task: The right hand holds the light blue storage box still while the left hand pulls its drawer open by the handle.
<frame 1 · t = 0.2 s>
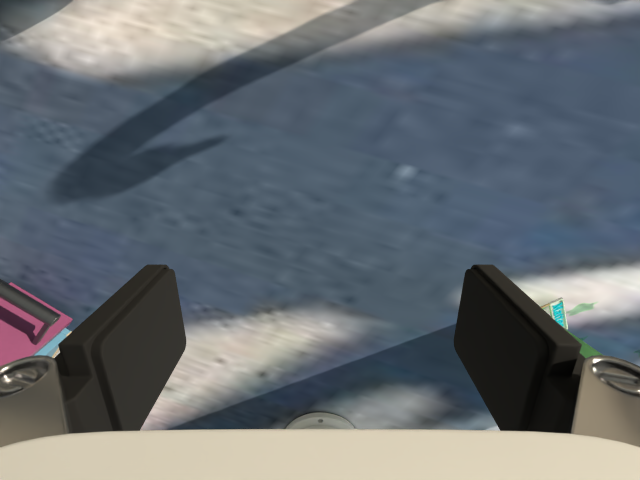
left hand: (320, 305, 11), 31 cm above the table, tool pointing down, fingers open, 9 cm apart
light blue storage box: (11, 353, 50), on the table
toy game set: (621, 333, 49), on the table
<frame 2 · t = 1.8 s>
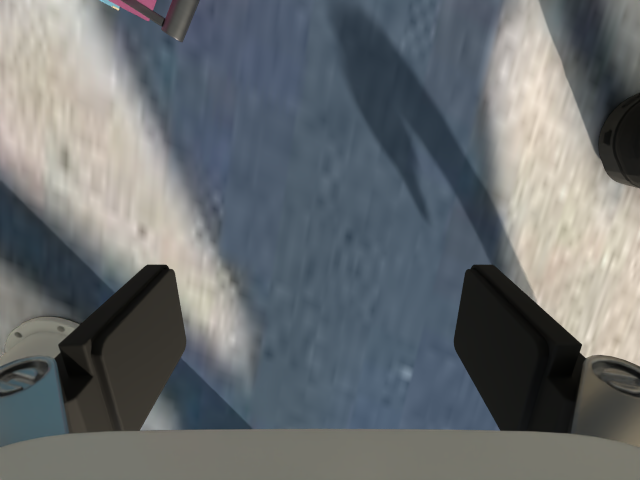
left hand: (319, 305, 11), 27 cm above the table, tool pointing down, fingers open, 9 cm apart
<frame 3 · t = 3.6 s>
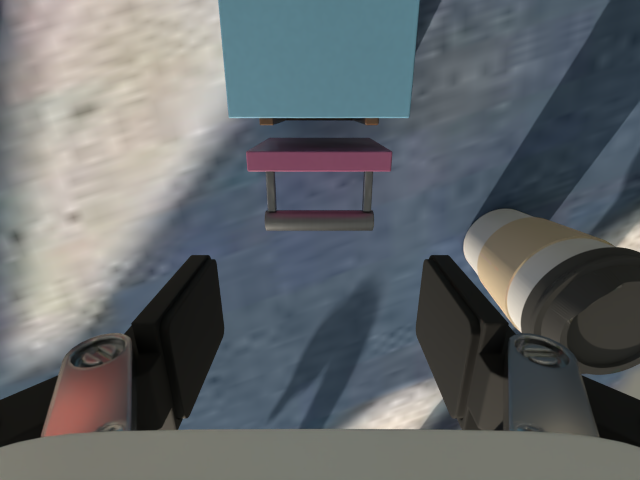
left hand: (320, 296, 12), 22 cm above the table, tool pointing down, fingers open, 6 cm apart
coffee cup: (497, 241, 34), on the table
drawer: (319, 71, 23), point 6 cm above the table, slide at 1.9 cm
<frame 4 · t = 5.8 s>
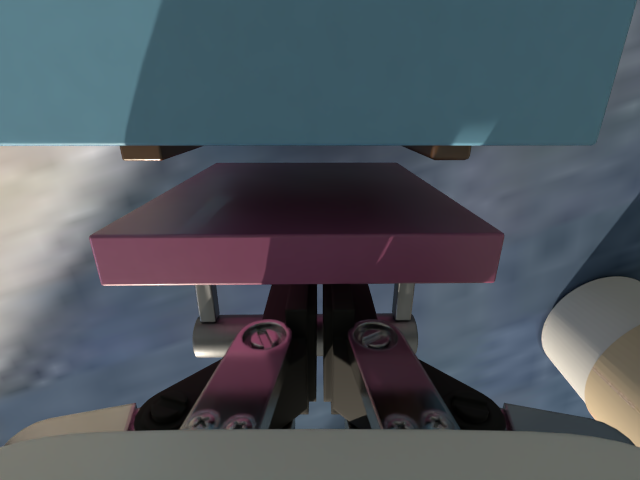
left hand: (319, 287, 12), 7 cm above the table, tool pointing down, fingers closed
coffee cup: (595, 324, 21), on the table
drawer: (302, 24, 10), point 6 cm above the table, slide at 1.9 cm, touching left hand
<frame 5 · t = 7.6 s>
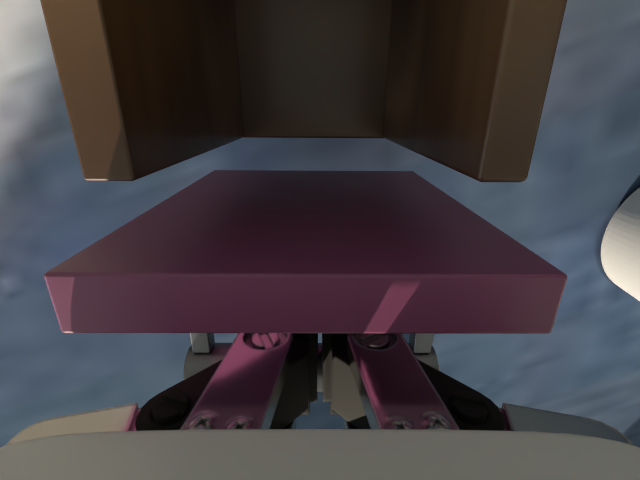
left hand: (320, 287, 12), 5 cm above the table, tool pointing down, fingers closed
drawer: (311, 14, 9), point 6 cm above the table, slide at 8.7 cm, touching left hand
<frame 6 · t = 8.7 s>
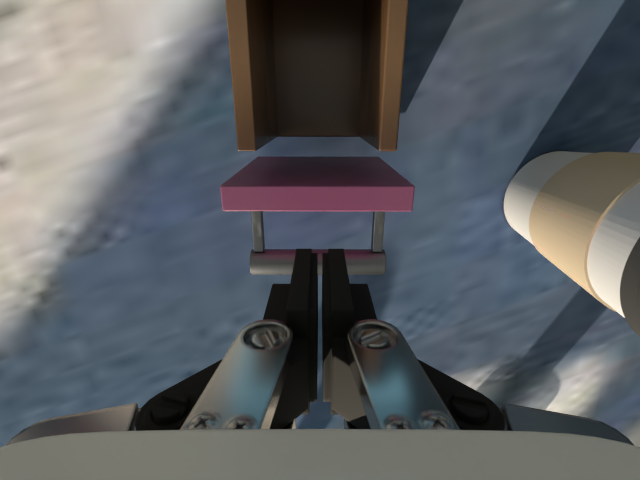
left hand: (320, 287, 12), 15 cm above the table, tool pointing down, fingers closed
coffee cup: (547, 195, 27), on the table
drawer: (317, 78, 18), point 6 cm above the table, slide at 8.7 cm
when the right hand's fingers open (7 cm above the table, at t = 9.3 s): light blue storage box stays where it is, on the table.
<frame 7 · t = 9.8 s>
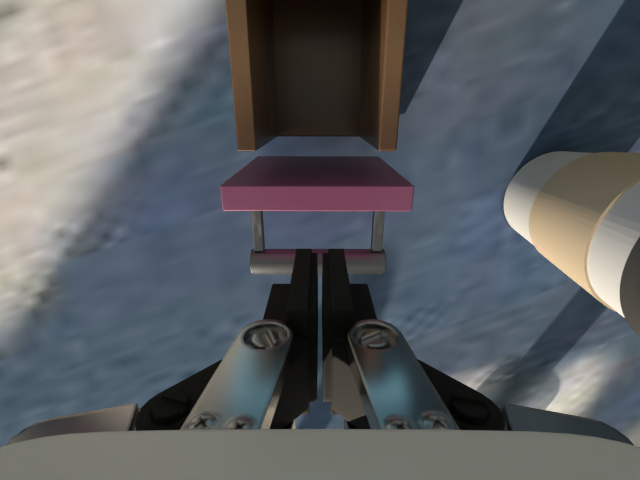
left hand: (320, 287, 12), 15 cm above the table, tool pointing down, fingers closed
coffee cup: (546, 195, 27), on the table
drawer: (317, 77, 18), point 6 cm above the table, slide at 8.7 cm
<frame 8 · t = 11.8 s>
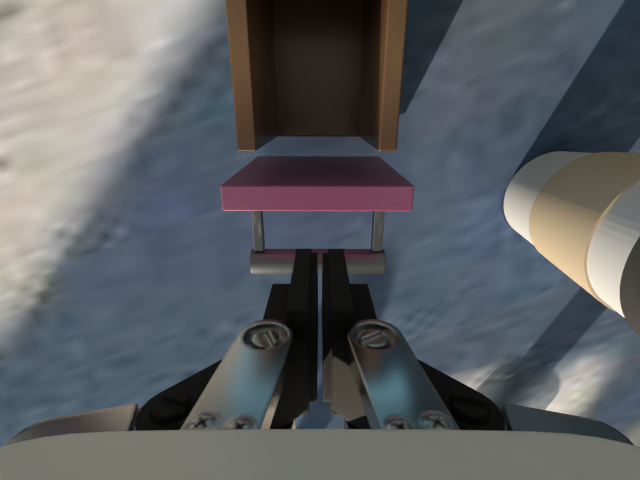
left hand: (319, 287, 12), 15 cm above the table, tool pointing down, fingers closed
coffee cup: (546, 195, 27), on the table
drawer: (317, 77, 18), point 6 cm above the table, slide at 8.7 cm
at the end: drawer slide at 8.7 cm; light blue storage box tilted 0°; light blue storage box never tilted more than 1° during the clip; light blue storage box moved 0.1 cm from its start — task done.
